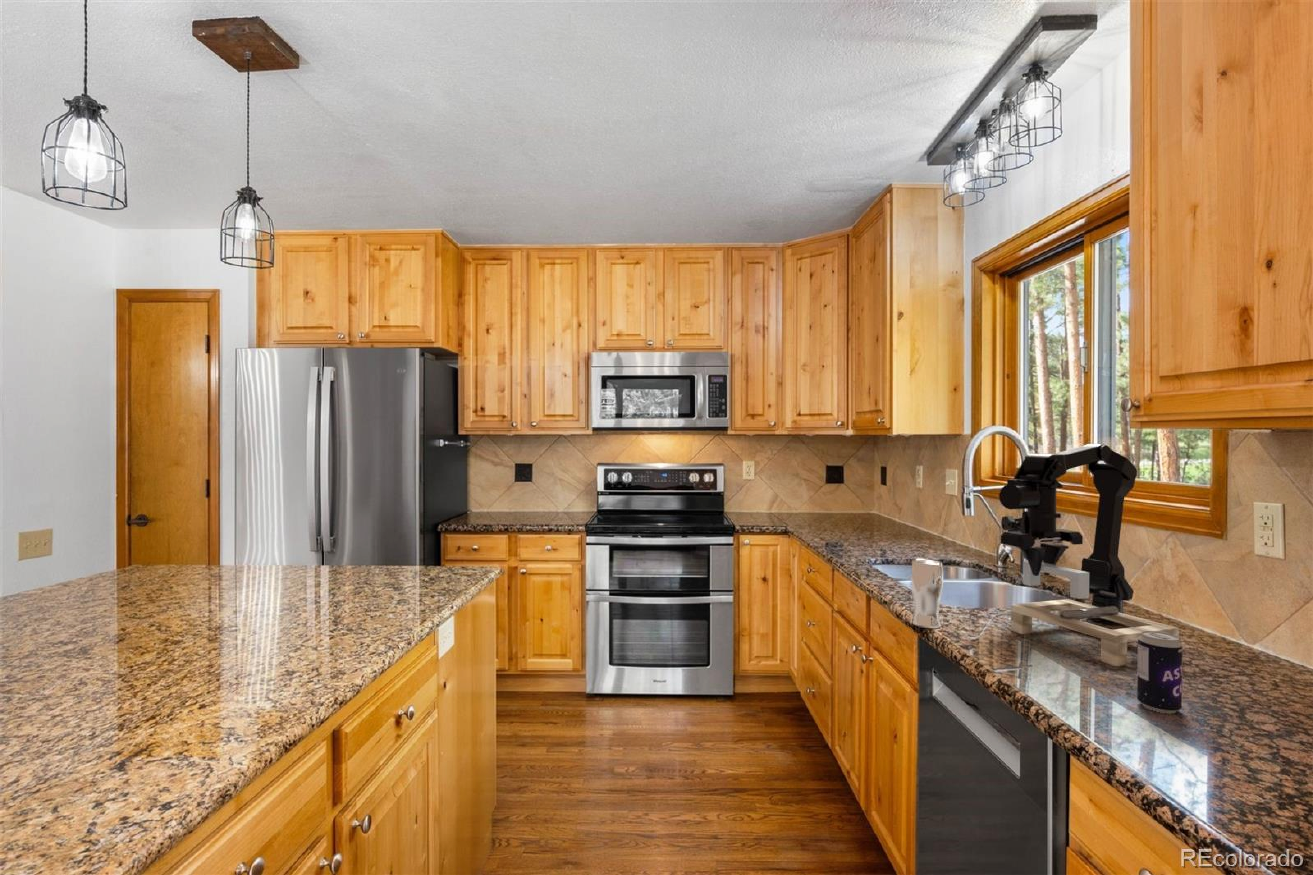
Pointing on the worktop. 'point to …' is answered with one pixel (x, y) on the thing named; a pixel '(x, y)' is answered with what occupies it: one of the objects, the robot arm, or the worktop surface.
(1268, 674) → the worktop surface
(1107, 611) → the rod
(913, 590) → the beer glass
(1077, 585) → the long white beam
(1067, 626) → the shelf
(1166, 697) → the beverage can
